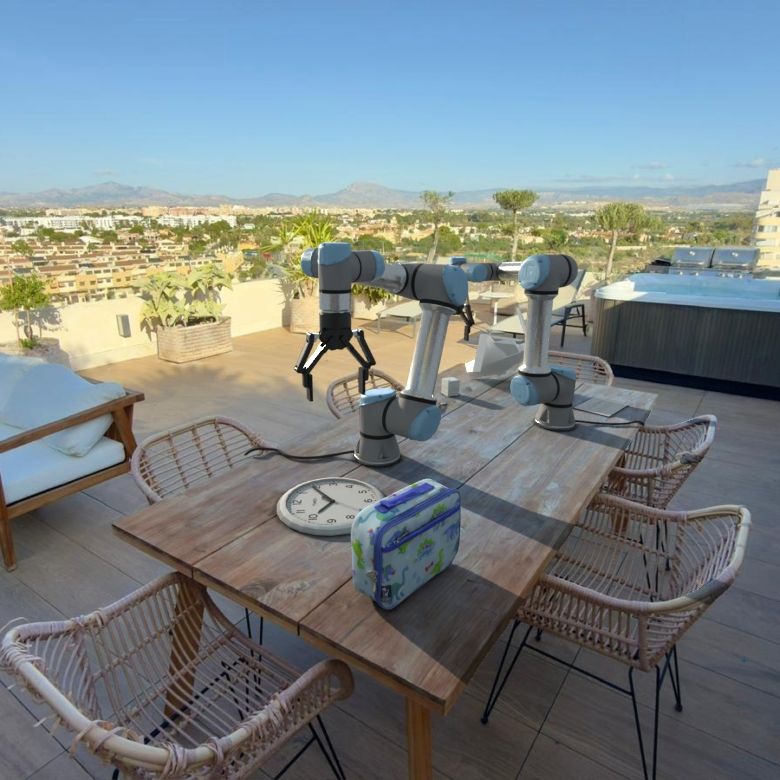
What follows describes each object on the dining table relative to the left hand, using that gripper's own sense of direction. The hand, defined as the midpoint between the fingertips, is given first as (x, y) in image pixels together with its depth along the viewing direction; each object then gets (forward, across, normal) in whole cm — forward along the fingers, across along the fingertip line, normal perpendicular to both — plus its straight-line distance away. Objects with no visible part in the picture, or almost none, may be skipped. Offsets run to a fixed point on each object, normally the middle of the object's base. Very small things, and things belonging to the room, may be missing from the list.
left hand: (336, 396), depth 129 cm
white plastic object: (+33, -116, -80) cm, 145 cm away
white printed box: (+33, -83, -77) cm, 118 cm away
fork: (+33, -70, -63) cm, 100 cm away
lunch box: (+33, -4, +32) cm, 46 cm away
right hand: (+8, -84, -77) cm, 114 cm away
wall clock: (+33, 0, -5) cm, 33 cm away
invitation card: (+33, -134, -36) cm, 143 cm away
